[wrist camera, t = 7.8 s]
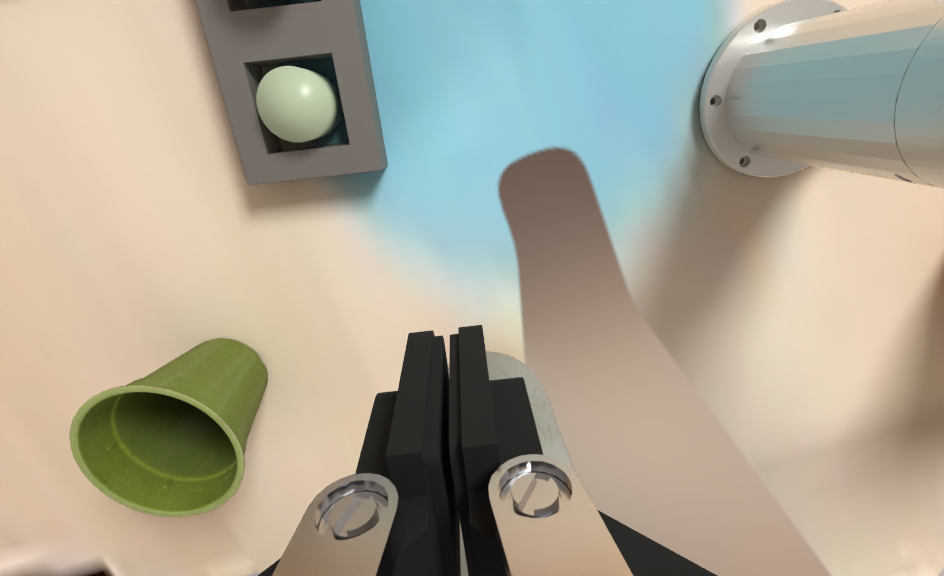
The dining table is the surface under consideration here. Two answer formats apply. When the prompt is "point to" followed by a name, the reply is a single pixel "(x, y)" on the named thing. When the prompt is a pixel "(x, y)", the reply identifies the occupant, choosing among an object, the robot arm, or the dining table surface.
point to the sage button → (298, 104)
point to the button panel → (283, 41)
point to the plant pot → (173, 431)
